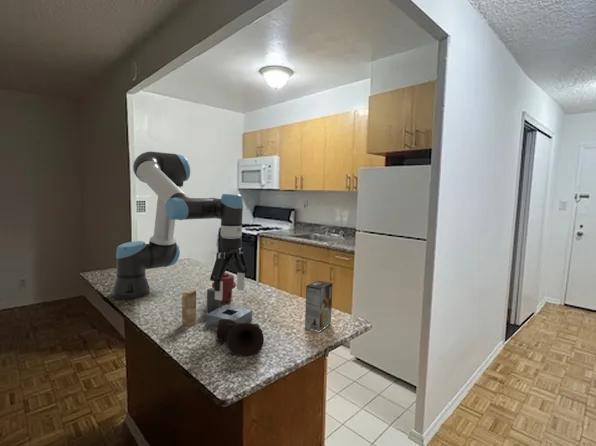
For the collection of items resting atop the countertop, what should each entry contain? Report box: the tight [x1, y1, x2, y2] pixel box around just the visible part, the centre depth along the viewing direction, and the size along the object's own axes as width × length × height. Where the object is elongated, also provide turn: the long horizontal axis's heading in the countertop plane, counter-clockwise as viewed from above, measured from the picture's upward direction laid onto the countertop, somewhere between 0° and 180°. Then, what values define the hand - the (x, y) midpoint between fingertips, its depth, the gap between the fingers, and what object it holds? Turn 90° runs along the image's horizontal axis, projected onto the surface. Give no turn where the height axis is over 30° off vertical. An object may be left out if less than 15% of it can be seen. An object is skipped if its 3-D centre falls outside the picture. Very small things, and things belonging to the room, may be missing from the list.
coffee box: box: [304, 280, 333, 331], centre depth 123 cm, size 9×6×16 cm
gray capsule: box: [206, 287, 221, 314], centre depth 134 cm, size 5×5×9 cm
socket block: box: [205, 304, 253, 329], centre depth 124 cm, size 12×12×4 cm
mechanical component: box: [211, 272, 237, 305], centre depth 146 cm, size 12×10×10 cm
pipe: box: [215, 319, 265, 357], centre depth 107 cm, size 10×15×15 cm
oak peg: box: [181, 289, 197, 327], centre depth 121 cm, size 3×3×12 cm
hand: (230, 294), depth 123 cm, fingers open, 13 cm apart
